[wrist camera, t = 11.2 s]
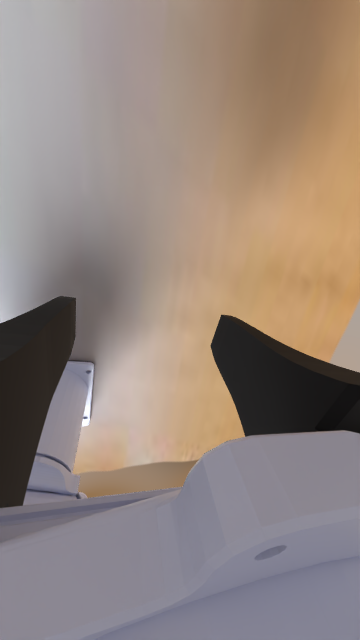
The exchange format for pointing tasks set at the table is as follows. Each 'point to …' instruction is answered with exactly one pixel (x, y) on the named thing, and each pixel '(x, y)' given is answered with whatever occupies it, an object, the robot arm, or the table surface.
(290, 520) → the robot arm
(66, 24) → the table surface
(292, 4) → the table surface
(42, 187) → the table surface
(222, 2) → the table surface
